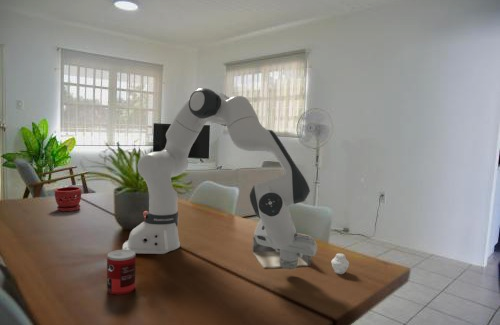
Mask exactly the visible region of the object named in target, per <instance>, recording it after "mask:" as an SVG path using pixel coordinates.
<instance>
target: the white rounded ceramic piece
mask: <svg viewBox="0 0 500 325" xmlns="http://www.w3.org/2000/svg"><path fill="white" fill-rule="evenodd" d="M346 257H347V256H346V255H345V254H344V253H336V254H335V256H334V258H332V260H331V266H332V268H333V271H334V273H335V274H337V275H343V274H345V272H346V271H347V270H348V268H349V266H350V262H349V261H348V259H347V258H346Z"/></svg>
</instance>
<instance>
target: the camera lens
mask: <svg viewBox="0 0 500 325" xmlns="http://www.w3.org/2000/svg"><path fill="white" fill-rule="evenodd" d="M279 260H280V266H281V267H282V269H285V270H295V269H297V263H298V256H297V253H295V252H290V251H286V250H281V249H280V259H279Z"/></svg>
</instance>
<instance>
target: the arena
mask: <svg viewBox="0 0 500 325" xmlns="http://www.w3.org/2000/svg"><path fill="white" fill-rule="evenodd" d="M252 254H253V256H254V257H255V258H256V260H257V261H258V263H259V264H260V265H261V267H262V269H264V270H265V269H278V268H282V267H281V266H280V260H279V259H280V253H279V252H276V250H275V249H273V248H272V247H268V246H263V245H260V244H258V243H257V242H256V239H255V236H253V237H252ZM311 263H312V256H309V255H304V254H303V256H302V257H298V263H297V267H311V266H312V264H311ZM297 267H296V268H297ZM282 269H283V268H282Z"/></svg>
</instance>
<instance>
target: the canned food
mask: <svg viewBox="0 0 500 325" xmlns="http://www.w3.org/2000/svg"><path fill="white" fill-rule="evenodd" d="M136 254H137V253H135V252H134V251H132V250H126V249H122V248H121V249H116V250H112V251H110V252H108V253H107V256H106V289H107V292H108V293H109V294H110V295H114V294H116V296H123V295H127V294H131V293H132V292H133V291H134V290H135V287H136V265H137V264H136V260H137V259H136V256H137V255H136ZM122 294H123V295H122Z"/></svg>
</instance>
